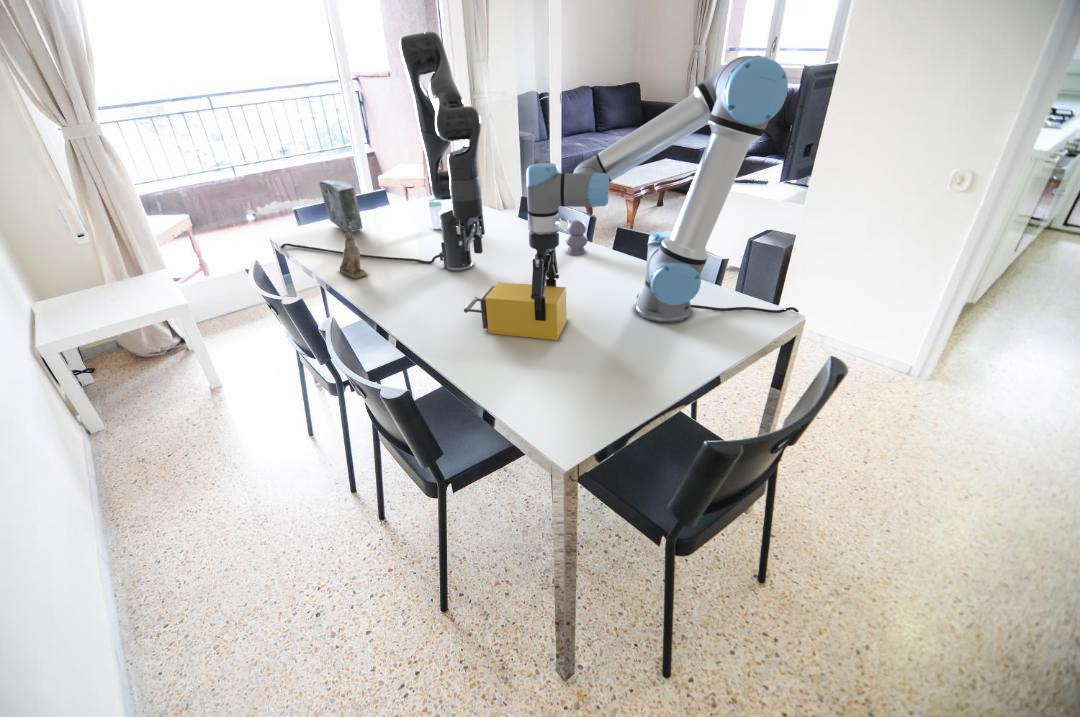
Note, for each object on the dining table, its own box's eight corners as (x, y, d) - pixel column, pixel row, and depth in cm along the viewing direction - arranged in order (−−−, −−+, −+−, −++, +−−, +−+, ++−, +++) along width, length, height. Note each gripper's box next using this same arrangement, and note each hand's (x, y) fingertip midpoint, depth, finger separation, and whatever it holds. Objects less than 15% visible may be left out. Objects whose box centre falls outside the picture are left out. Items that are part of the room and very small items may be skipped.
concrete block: (367, 234, 218) (357, 187, 208) (347, 238, 214) (336, 190, 203) (348, 221, 237) (338, 177, 226) (329, 225, 232) (318, 180, 222)
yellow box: (488, 333, 137) (484, 298, 131) (501, 315, 146) (498, 282, 140) (557, 340, 132) (556, 304, 126) (566, 321, 141) (566, 287, 135)
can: (445, 229, 220) (441, 202, 214) (429, 230, 220) (425, 202, 214) (447, 224, 226) (444, 198, 220) (432, 225, 226) (428, 198, 220)
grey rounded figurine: (591, 251, 189) (592, 220, 183) (578, 257, 185) (578, 225, 178) (574, 246, 195) (574, 216, 188) (561, 252, 190) (560, 221, 183)
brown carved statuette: (368, 281, 178) (362, 235, 166) (353, 285, 175) (347, 238, 163) (352, 266, 184) (346, 221, 172) (338, 270, 181) (331, 224, 169)
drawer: (464, 326, 138) (460, 298, 134) (477, 311, 146) (474, 284, 142) (547, 335, 133) (546, 305, 128) (555, 318, 141) (555, 290, 136)
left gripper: (469, 203, 117) (476, 268, 126) (489, 190, 129) (495, 250, 137) (440, 202, 119) (449, 267, 128) (463, 189, 131) (469, 248, 139)
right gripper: (546, 246, 113) (548, 331, 124) (568, 217, 132) (568, 293, 143) (515, 244, 114) (520, 328, 126) (541, 216, 133) (543, 291, 145)
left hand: (472, 258), depth 132 cm, fingers open, 8 cm apart
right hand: (546, 310), depth 134 cm, fingers closed on yellow box, 11 cm apart
